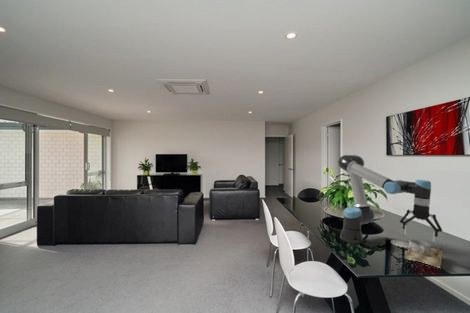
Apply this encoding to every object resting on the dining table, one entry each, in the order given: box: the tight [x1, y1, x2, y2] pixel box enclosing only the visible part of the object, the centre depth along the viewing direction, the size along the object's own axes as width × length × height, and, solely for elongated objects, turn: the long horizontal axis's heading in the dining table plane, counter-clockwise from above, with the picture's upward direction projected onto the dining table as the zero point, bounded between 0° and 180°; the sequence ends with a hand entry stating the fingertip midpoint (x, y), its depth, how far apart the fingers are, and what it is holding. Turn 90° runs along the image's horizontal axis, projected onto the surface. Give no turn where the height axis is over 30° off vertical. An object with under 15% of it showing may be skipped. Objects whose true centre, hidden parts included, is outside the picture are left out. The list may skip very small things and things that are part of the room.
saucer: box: [390, 239, 409, 249], centre depth 154 cm, size 12×12×2 cm
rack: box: [404, 241, 443, 269], centre depth 134 cm, size 16×19×8 cm
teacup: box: [408, 238, 432, 256], centre depth 135 cm, size 14×11×8 cm
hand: (419, 237), depth 136 cm, fingers open, 13 cm apart
